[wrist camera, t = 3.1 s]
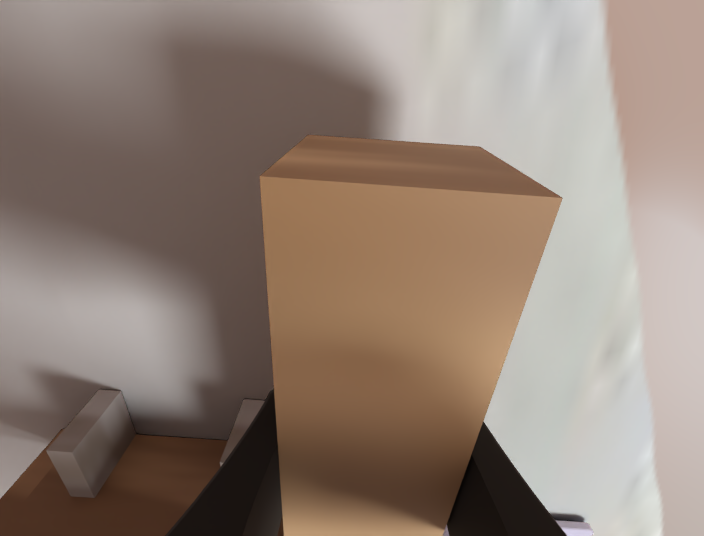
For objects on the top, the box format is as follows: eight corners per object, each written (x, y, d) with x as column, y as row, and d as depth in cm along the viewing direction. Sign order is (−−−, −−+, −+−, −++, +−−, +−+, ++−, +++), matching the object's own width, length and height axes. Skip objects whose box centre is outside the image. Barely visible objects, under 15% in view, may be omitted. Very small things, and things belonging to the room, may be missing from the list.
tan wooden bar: (401, 498, 15) (410, 626, 11) (308, 490, 15) (289, 615, 12) (479, 146, 8) (562, 197, 5) (308, 135, 8) (260, 176, 5)
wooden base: (322, 467, 18) (303, 646, 12) (71, 450, 18) (-66, 621, 12) (324, 404, 16) (302, 586, 10) (39, 385, 16) (-145, 556, 10)
